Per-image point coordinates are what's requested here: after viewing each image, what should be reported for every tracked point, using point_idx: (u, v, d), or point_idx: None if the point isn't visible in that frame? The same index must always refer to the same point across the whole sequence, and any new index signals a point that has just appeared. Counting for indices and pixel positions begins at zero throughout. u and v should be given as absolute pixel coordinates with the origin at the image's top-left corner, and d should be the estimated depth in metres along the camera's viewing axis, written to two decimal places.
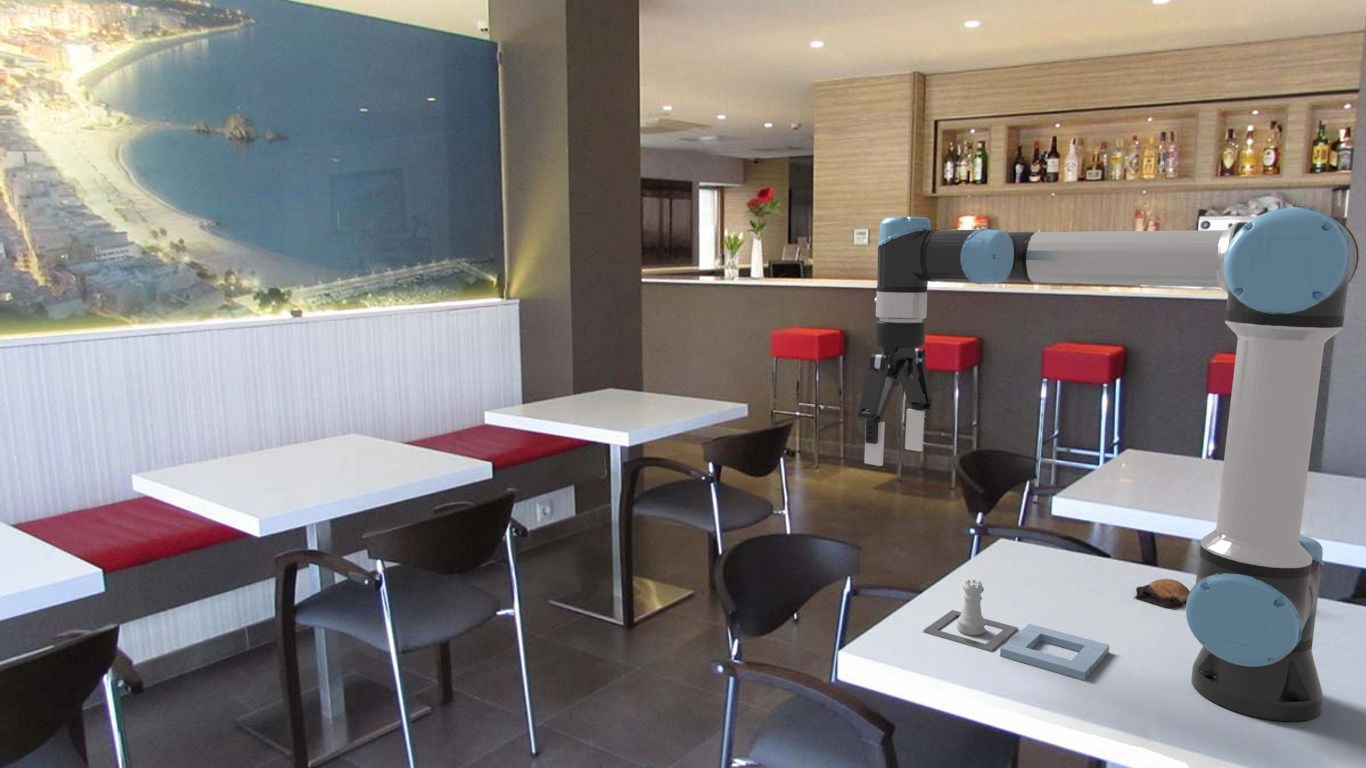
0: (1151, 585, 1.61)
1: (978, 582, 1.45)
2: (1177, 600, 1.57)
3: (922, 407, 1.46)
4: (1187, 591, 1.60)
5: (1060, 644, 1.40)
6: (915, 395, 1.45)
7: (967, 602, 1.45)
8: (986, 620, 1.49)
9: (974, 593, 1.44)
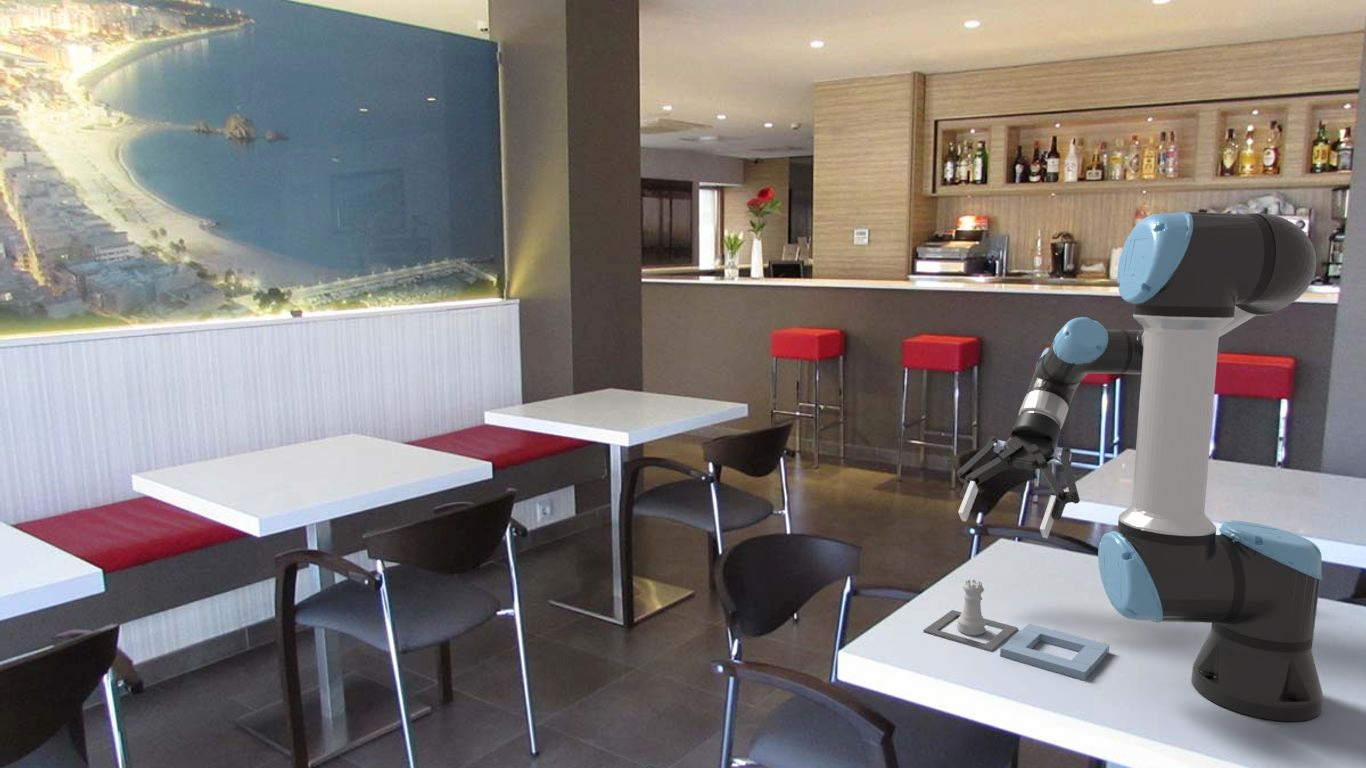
0: None
1: (978, 582, 1.45)
2: None
3: (1056, 494, 1.50)
4: None
5: (1060, 644, 1.40)
6: (1049, 483, 1.52)
7: (967, 602, 1.45)
8: (986, 620, 1.49)
9: (974, 593, 1.44)
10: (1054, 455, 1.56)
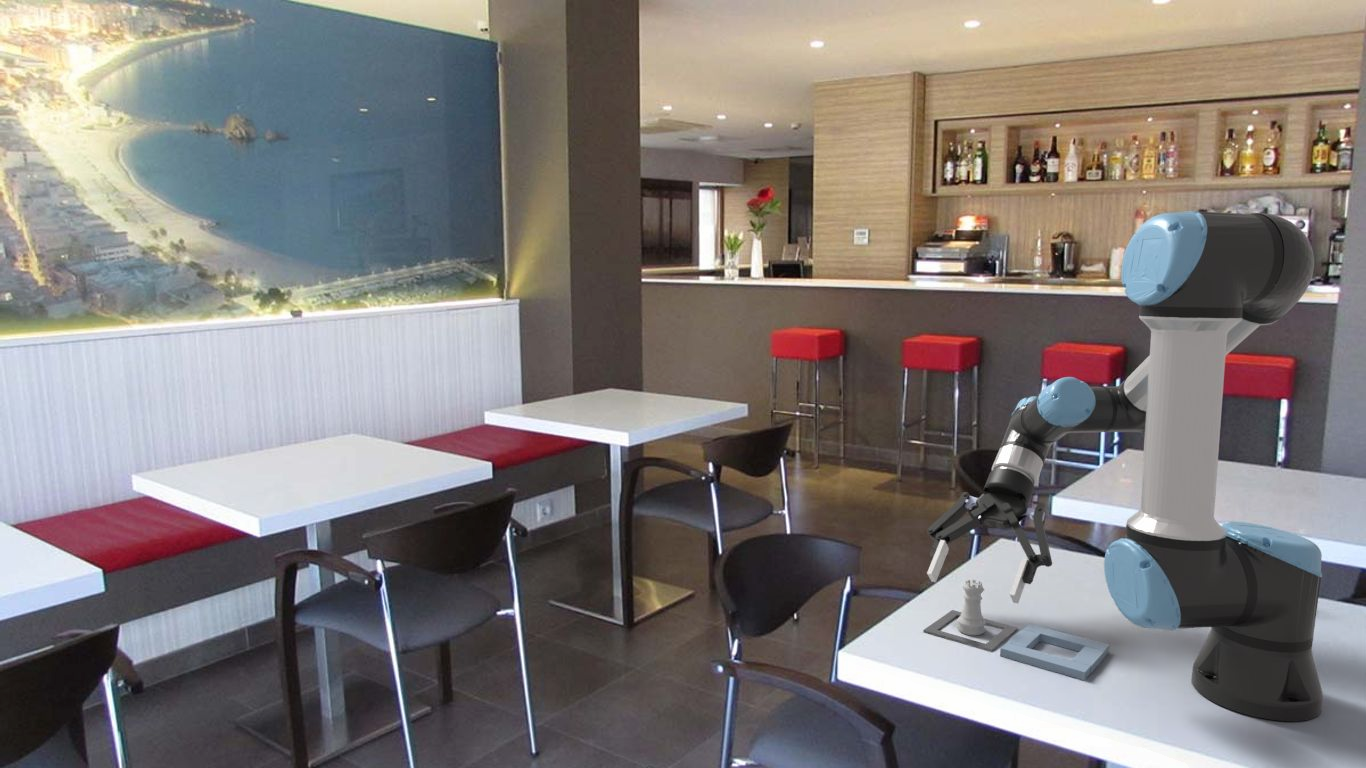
0: None
1: (978, 582, 1.45)
2: None
3: (1028, 557, 1.44)
4: None
5: (1060, 644, 1.40)
6: (1021, 544, 1.46)
7: (967, 602, 1.45)
8: (986, 620, 1.49)
9: (974, 593, 1.44)
10: (1027, 514, 1.50)
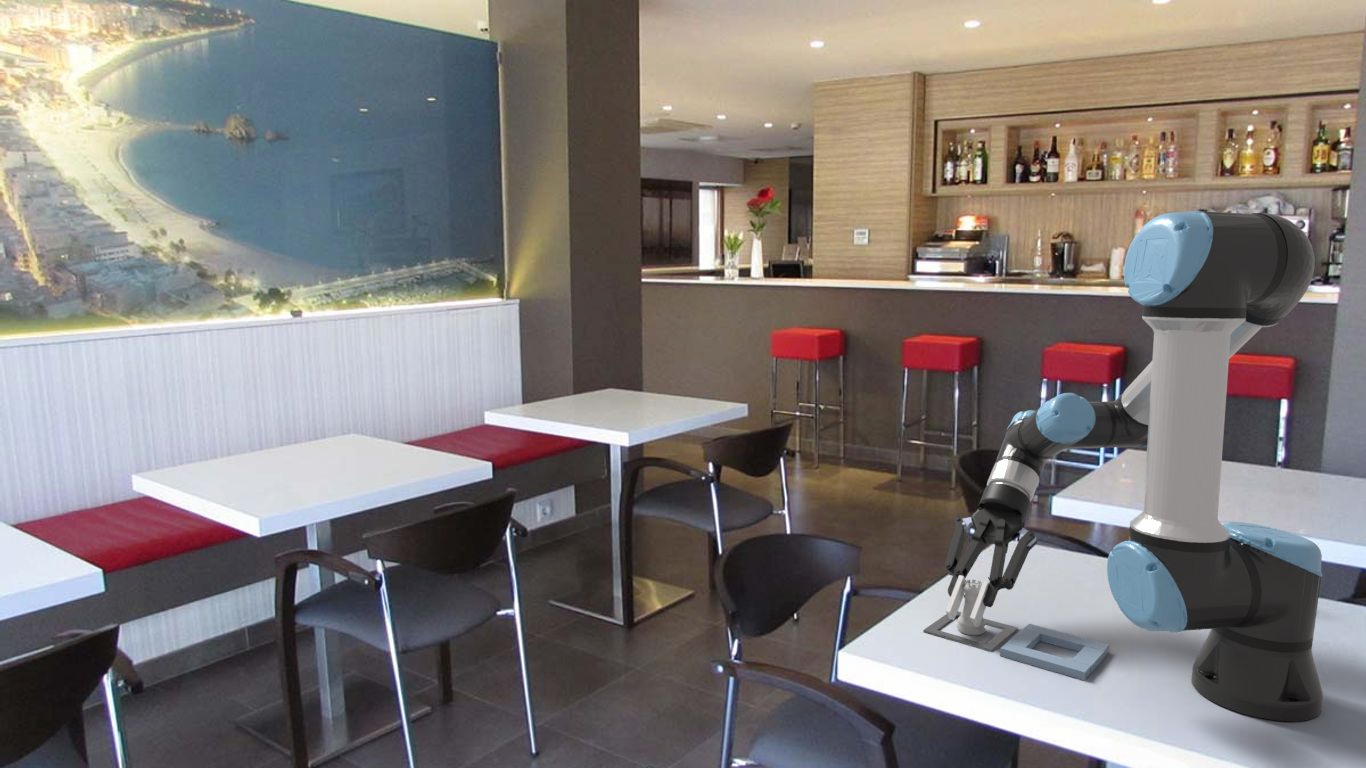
0: None
1: (978, 582, 1.45)
2: None
3: (989, 578, 1.44)
4: None
5: (1060, 644, 1.40)
6: None
7: (967, 602, 1.45)
8: (986, 620, 1.49)
9: (974, 593, 1.44)
10: None
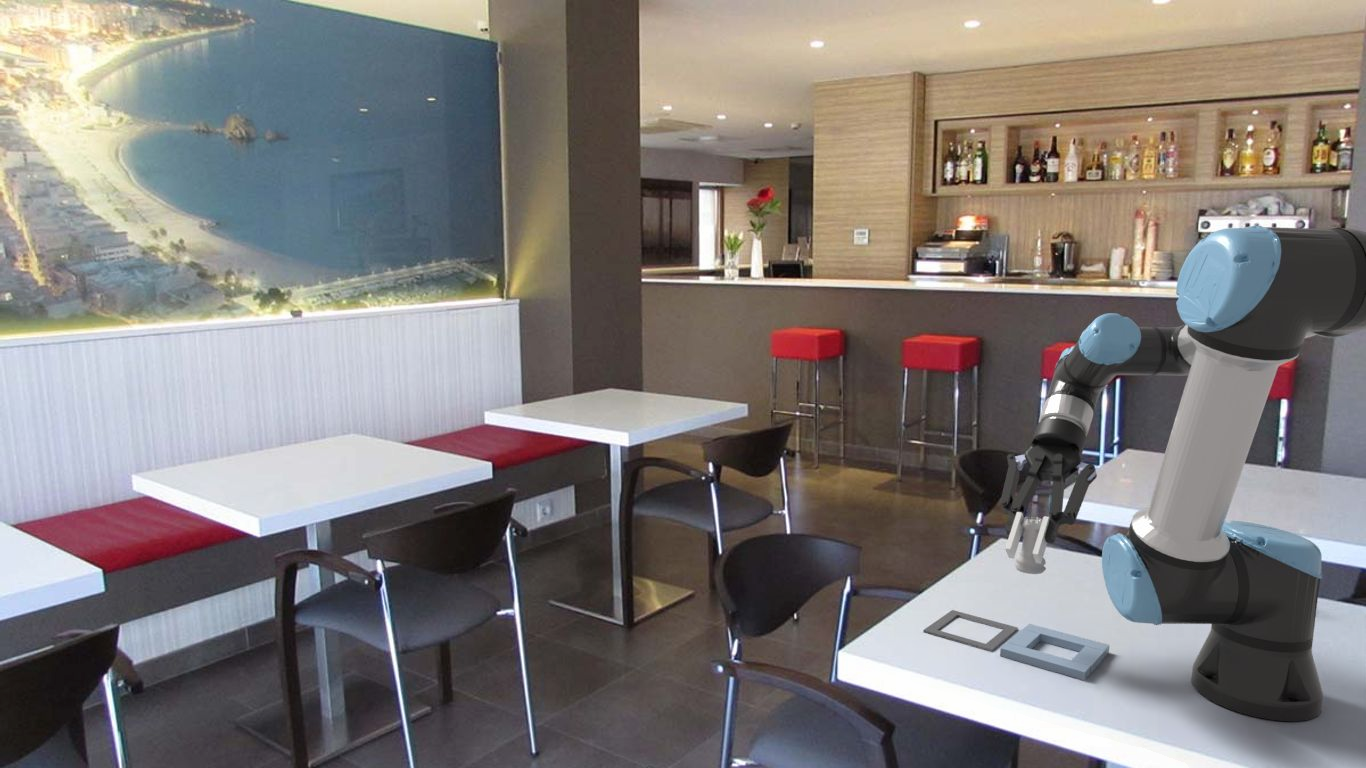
0: None
1: (1037, 518, 1.38)
2: None
3: (1050, 513, 1.37)
4: None
5: (1060, 644, 1.40)
6: None
7: (1026, 539, 1.38)
8: (986, 620, 1.49)
9: (1034, 529, 1.37)
10: None
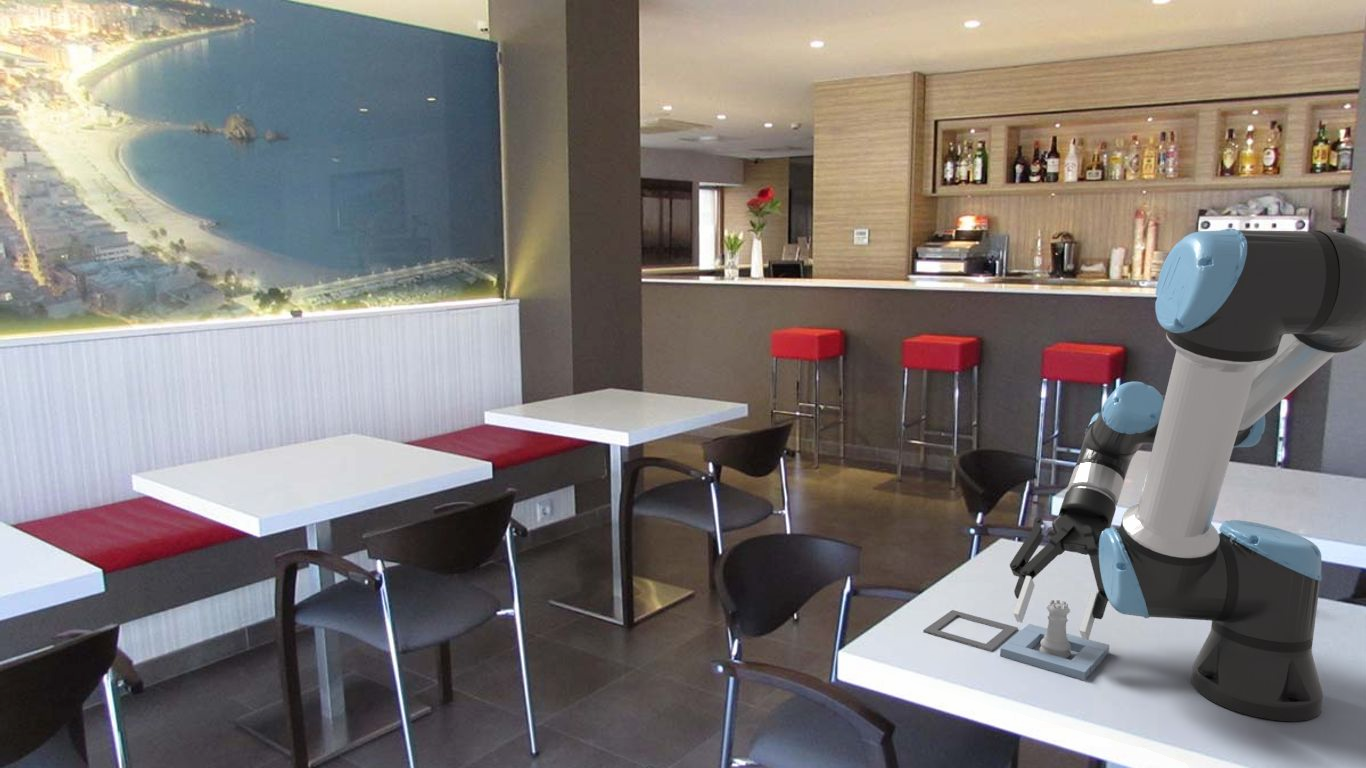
0: None
1: (1063, 603, 1.37)
2: None
3: (1098, 589, 1.34)
4: None
5: None
6: (1094, 573, 1.36)
7: (1052, 624, 1.36)
8: (986, 620, 1.49)
9: (1060, 615, 1.35)
10: None
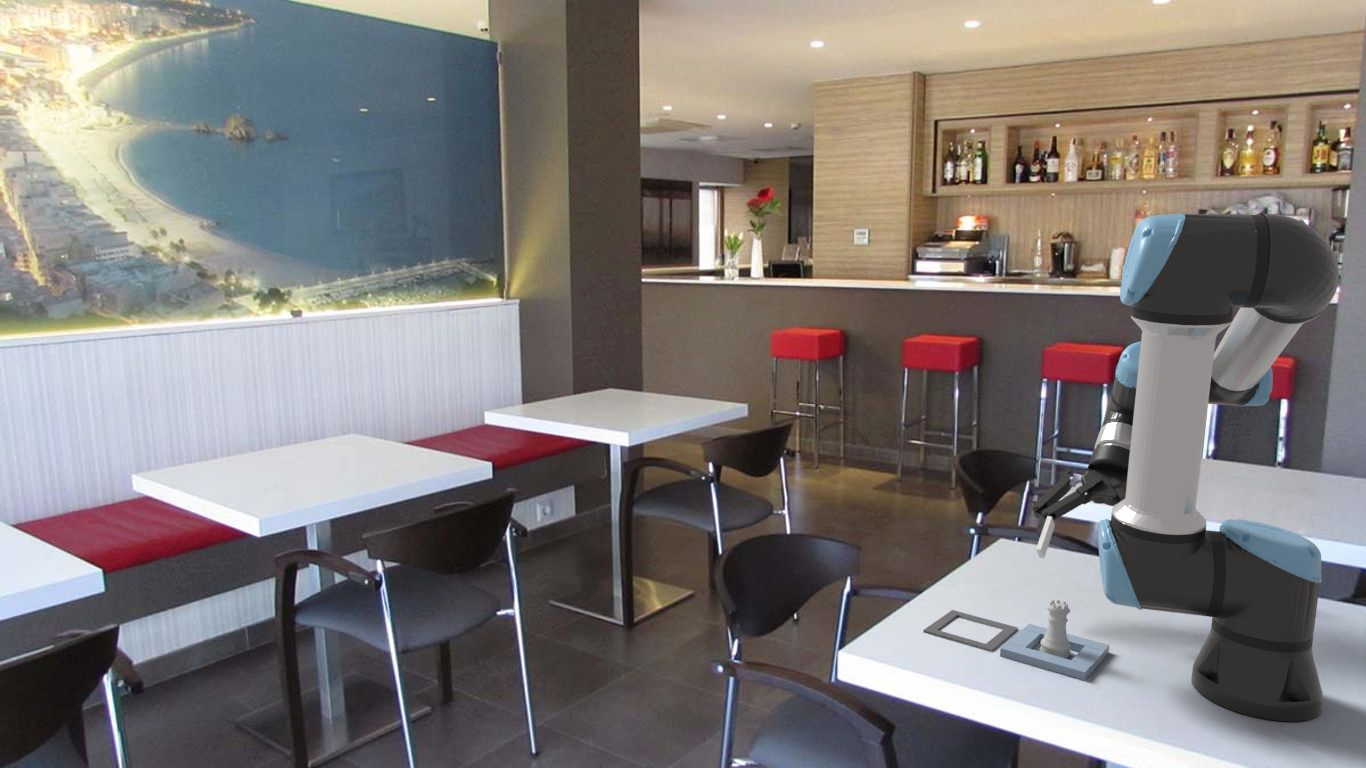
0: None
1: (1063, 603, 1.37)
2: None
3: None
4: None
5: None
6: None
7: (1052, 624, 1.36)
8: (986, 620, 1.49)
9: (1060, 615, 1.35)
10: None
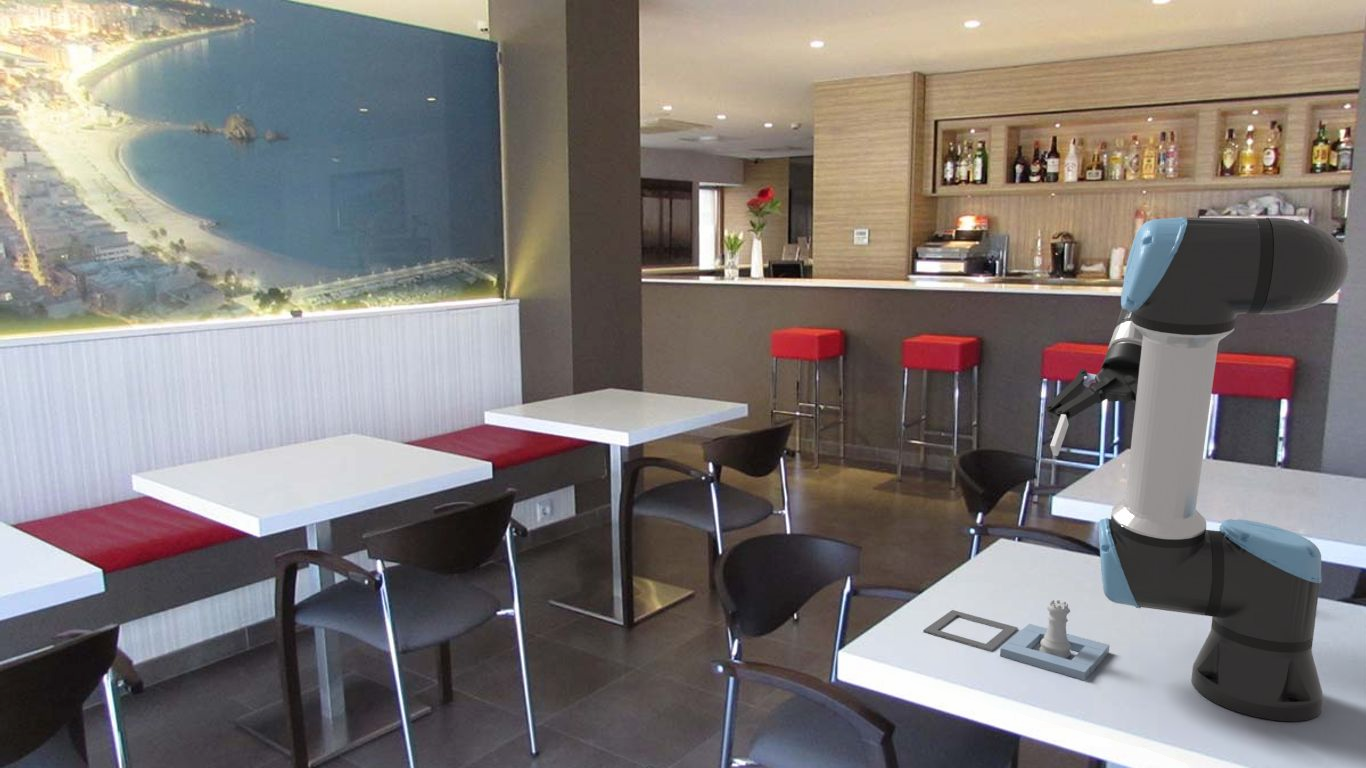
0: None
1: (1063, 603, 1.37)
2: None
3: None
4: None
5: None
6: None
7: (1052, 624, 1.36)
8: (986, 620, 1.49)
9: (1060, 615, 1.35)
10: None
